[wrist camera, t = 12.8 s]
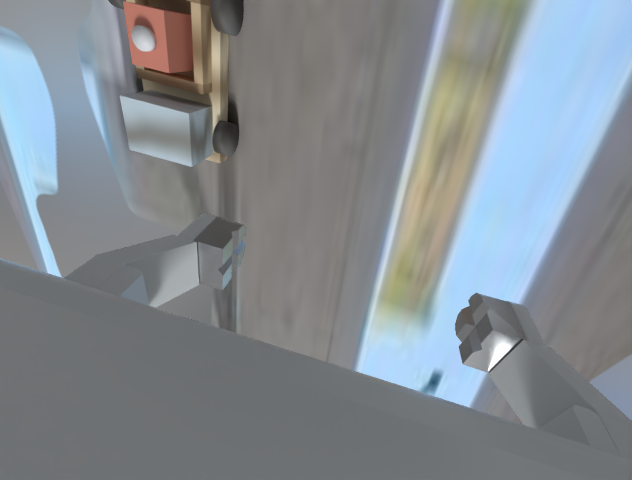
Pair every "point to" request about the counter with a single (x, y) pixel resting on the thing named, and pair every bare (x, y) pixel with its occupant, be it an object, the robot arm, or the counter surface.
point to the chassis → (187, 91)
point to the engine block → (159, 38)
